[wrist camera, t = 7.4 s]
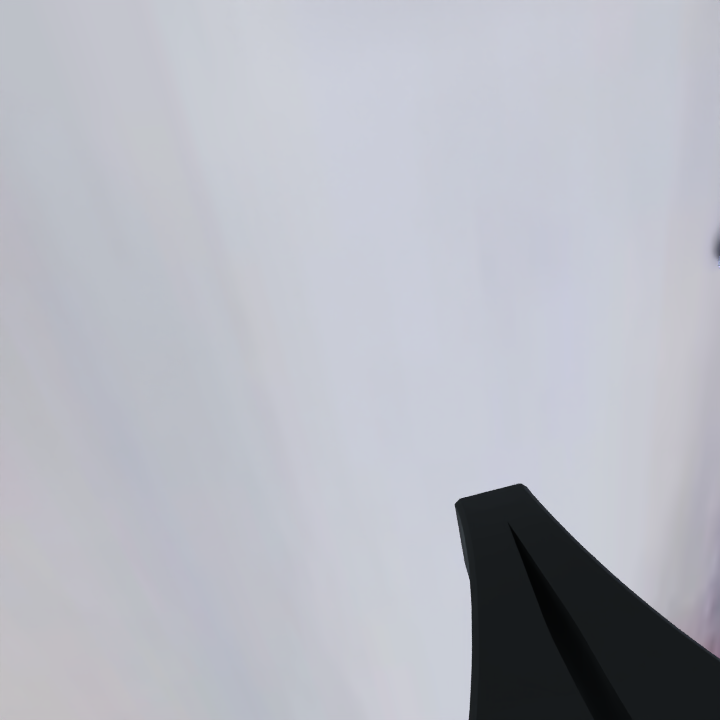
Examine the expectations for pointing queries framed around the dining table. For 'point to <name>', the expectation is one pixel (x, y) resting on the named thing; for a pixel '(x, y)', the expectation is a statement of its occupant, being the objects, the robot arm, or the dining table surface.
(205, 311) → the dining table surface
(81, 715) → the dining table surface
